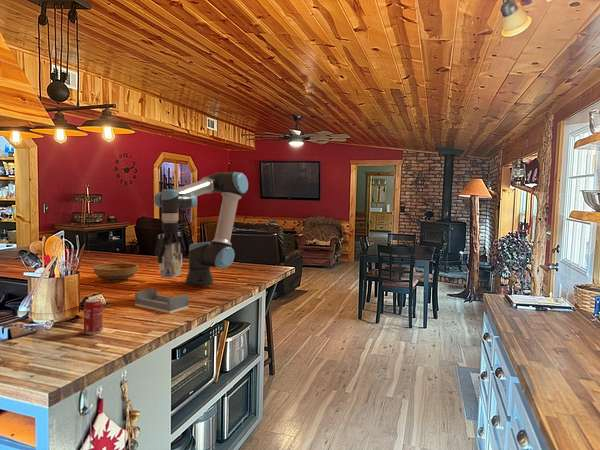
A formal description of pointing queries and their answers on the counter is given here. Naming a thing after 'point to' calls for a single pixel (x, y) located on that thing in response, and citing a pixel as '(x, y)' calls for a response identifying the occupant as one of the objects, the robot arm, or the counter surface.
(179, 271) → the coffee box
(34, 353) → the counter surface
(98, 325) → the beverage can
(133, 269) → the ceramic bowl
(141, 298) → the grey tray
